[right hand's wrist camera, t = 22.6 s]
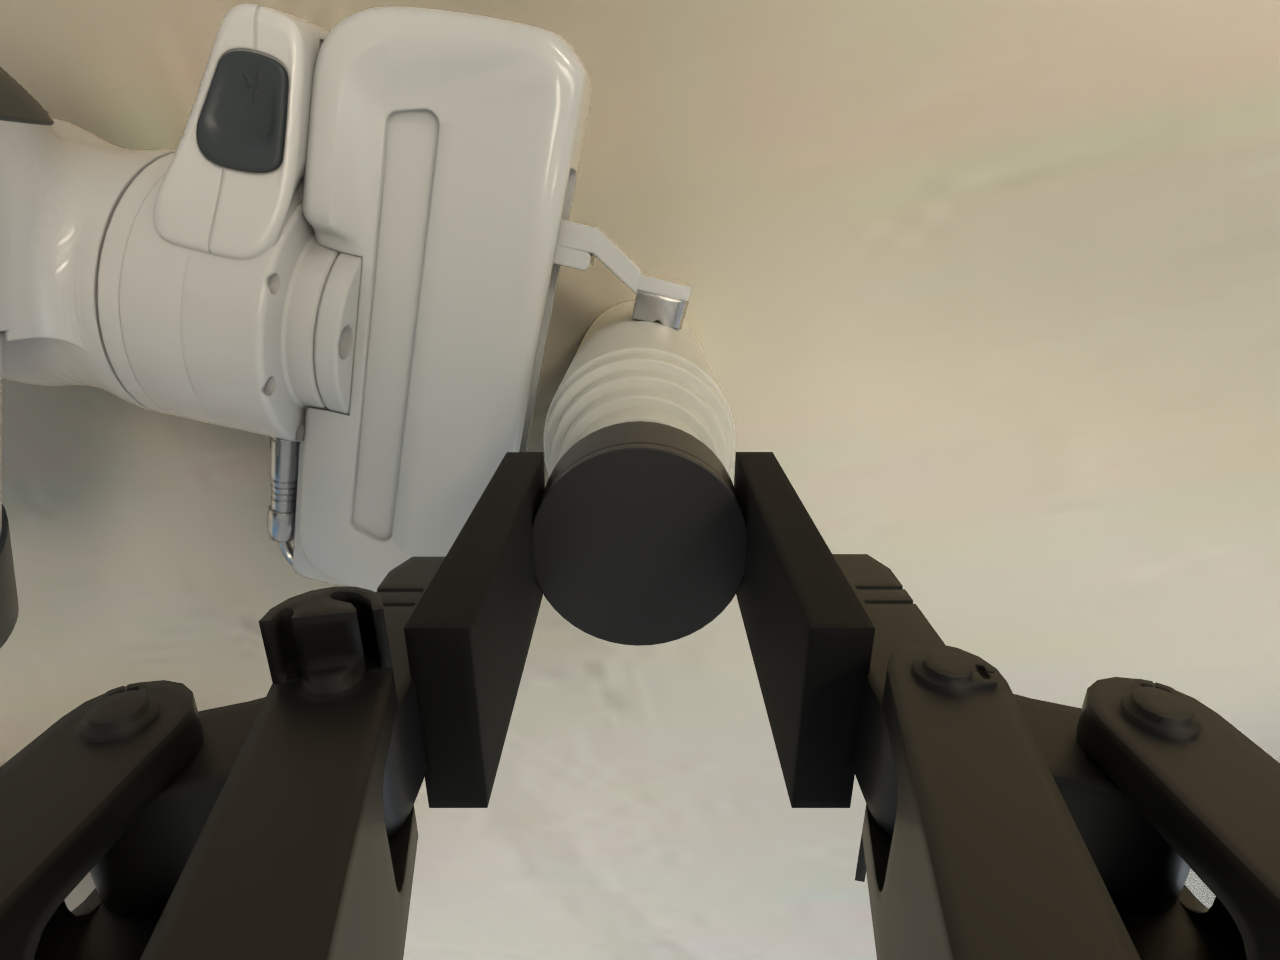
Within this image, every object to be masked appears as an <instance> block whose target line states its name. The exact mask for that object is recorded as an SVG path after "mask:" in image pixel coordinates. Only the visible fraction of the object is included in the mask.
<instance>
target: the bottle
mask: <svg viewBox="0 0 1280 960" xmlns="http://www.w3.org/2000/svg"><path fill="white" fill-rule="evenodd" d="M634 303H635V300H634V301H627V302H623V303H620V304H617V305H615V306H613V307H611V308H609V309H607V310H606V311H605V312H603V313H602V314H601V315H600V316H599V317H598V318H597V319H596V320H595V321H594V322H593V323H592V325H591V326H590V327H589V329H588V331H587V332H586V334H585V336H584V338H583V340H582V342H581V344H580V346H579V348H578V350H577V352H576V354H575V356H574V358H573V360H572V362H571V364H570V366H569V368H568V370H567V372H566V374H565V376H564V378H563V380H562V382H561V384H560V386H559V388H558V390H557V392H556V394H555V396H554V398H553V400H552V402H551V405H550V407H549V410H548V413H547V416H546V420H545V426H544V434H543V441H544V457H545V463H546V469H547V472H548V475H549V477H550V475H551V473H552V471H553V469H554V467H555V466H556V464H557V463H558V461H559V460H560V458H561V457H562V456H563V455H564V454H565V453H566V452H567V451H568V450H569V449H570V448H571V447H572V446H573V445H574V444H576V443H577V442H578V441H579V440H581V439H582V438H584V437H585V436H587V435H589V434H590V433H592V432H595V431H597V430H599V429H601V428H604V427H607V426H610V425H614V424H618V423H624V422H635V421H645V422H656V423H661V424H665V425H669V426H672V427H675V428H678V429H681V430H683V431H685V432H687V433H689V434H691V435H693V436H694V437H695V438H697V439H698V440H700V441H701V442H703V443H704V444H705V445H706V446H707V447H708V448H709V449H711V450H712V451H713V452H714V454H715V455H716V456H717V457H718V458H719V459H720V461H721V462H722V464H723V465H724V467H725V469H726V470H727V472H728V474H729V476H730V477H731V474H732V470H733V465H734V458H735V447H736V430H735V424H734V419H733V415H732V412H731V409H730V406H729V404H728V402H727V400H726V398H725V396H724V394H723V392H722V390H721V388H720V386H719V384H718V382H717V380H716V378H715V376H714V374H713V372H712V370H711V368H710V366H709V364H708V362H707V360H706V358H705V356H704V354H703V352H702V350H701V348H700V346H699V344H698V342H697V340H696V338H695V336H694V334H693V332H692V330H691V328H690V327H689V325H688V324H687V323H686V321H685V320H684V321H683V324H682V328H681V329H675V328H670V327H668V326H665V325H662V324H661V322H660V321H659V320H656V321H654V322H645V321H641V320H637V319H633V318H632V313H633V308H634Z"/></svg>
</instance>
